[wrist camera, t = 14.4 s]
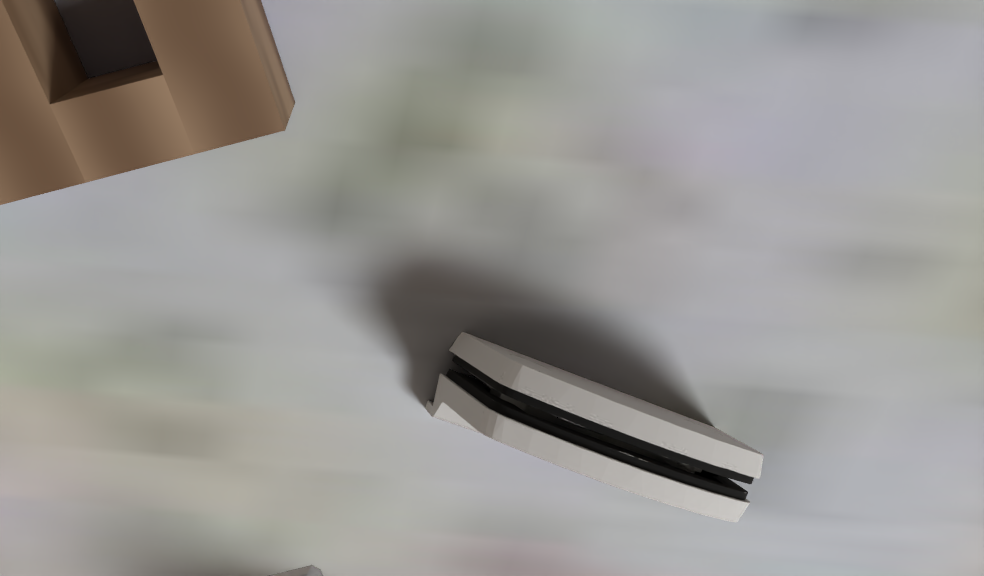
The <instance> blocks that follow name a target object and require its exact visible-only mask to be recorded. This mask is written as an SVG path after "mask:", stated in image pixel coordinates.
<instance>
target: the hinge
mask: <svg viewBox="0 0 984 576" xmlns="http://www.w3.org/2000/svg"><path fill="white" fill-rule="evenodd" d="M449 350H450V351H451V352H453V353H454V354H455V356H454V358H453V361H454V362H455V363H457V364H458V365H460V366H461V367H463V368H464V369H465V370H467V371H468V372H470V373H471V374H473V375H474V376H476V377H477V378H479V379H480V380H482V381H483V382H484V383H486V385H485V384H484V383H482V382H481V381H479V380H478V379H476V378H473V377H470V376H468V375H465V374H462V373H459V372H457V371H454V370H451V369H449V371H448V373H447V375H443V374H440V375H439V380H438V384H437V389H436V394H435V399H434V402H431V401H427V404H426V408H425V409H426V410H427V411H428V412H429V414H430V415H431V416H432V417H435V418H438V419H441V420H444V421H447V422H450V423H452V424H455V425H458V426H461V427H464V428H467V429H470V430H473V431H476V432H479V433H482V434H484V435H485V436H487V437H489V438H492V439H494V440H496V441H498V442H501V443H503V444H506V445H508V446H510V447H513V448H515V449H518V450H520V451H523V452H525V453H528V454H530V455H533V456H535V457H538V458H540V459H543V460H545V461H548V462H550V463H553V464H555V465H558V466H560V467H563V468H566V469H568V470H571V471H574V472H576V473H579V474H582V475H584V476H587V477H590V478H592V479H595V480H598V481H600V482H603V483H606V484H609V485H612V486H614V487H617V488H620V489H623V490H626V491H629V492H632V493H635V494H638V495H641V496H644V497H647V498H650V499H653V500H656V501H659V502H662V503H665V504H668V505H672V506H675V507H678V508H682V509H685V510H688V511H692V512H695V513H699V514H702V515H706V516H710V517H714V518H718V519H722V520H726V521H731V522H738V520H739V519H740V517H741V516H742V514H743V513H744V511H745V509H746V508H747V506H748V505H749V503H750V502H749V501H748V500H747V499H746V496H747V494H748V492H747V491H746V490H745V489H743V488H742V487H740V486H739V485H737V484H736V483H734V482H733V481H731V480H730V479H734V480H737V481H740V482H744V483H748V484H752V481H753V479H754V478H758V479H759V478H760V474H761V468H762V462H763V456H764V455H763V454H762V453H760V452H758V451H756V450H754V449H753V448H751V447H749V446H747V445H745V444H744V443H742V442H740V441H738V440H736V439H735V438H733V437H731V436H729V435H727V434H726V433H724V432H722V431H720V430H719V429H717V428H715V427H712V426H710V425H707V424H705V423H702V422H699V421H697V420H694V419H691V418H689V417H686V416H683V415H681V414H678V413H676V412H673V411H670V410H668V409H665V408H662V407H660V406H657V405H654V404H652V403H649V402H647V401H644V400H641V399H639V398H636V397H633V396H631V395H628V394H626V393H623V392H620V391H618V390H615V389H612V388H610V387H607V386H604V385H602V384H599V383H597V382H594V381H591V380H589V379H586V378H583V377H581V376H578V375H575V374H573V373H570V372H568V371H565V370H562V369H560V368H557V367H554V366H552V365H549V364H547V363H544V362H541V361H539V360H536V359H533V358H531V357H528V356H525V355H523V354H520V353H518V352H515V351H512V350H510V349H507V348H504V347H502V346H499V345H496V344H494V343H491V342H489V341H486V340H483V339H481V338H478V337H475V336H473V335H470V334H468V333H465V332H462V333H461V334H460V335H459V336H458V337H457V339H456V340H455V342H454V343H453V345H452V346H451V348H450V349H449ZM553 415H554V416H557V417H560V418H562V419H565V420H567V421H570V422H572V423H575V424H577V425H575V424H572V423H569V422H566V421H564V420H561V419H559V418H556V417H554V416H553ZM578 425H580V426H582V427H580V426H578ZM583 427H585V428H583ZM586 428H587V429H586ZM589 429H590V430H589ZM592 430H593V431H592ZM728 478H730V479H728Z"/></svg>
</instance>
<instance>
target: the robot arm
mask: <svg viewBox="0 0 984 576" xmlns="http://www.w3.org/2000/svg"><path fill="white" fill-rule="evenodd" d="M269 576H323V574H322V572H321V570H320V569H319V568H317V567H315V566H313V565H310V566H306V567H302V568H298V569H294V570H290V571H286V572H282V573H278V574H274V575H269Z"/></svg>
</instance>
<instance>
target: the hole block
mask: <svg viewBox="0 0 984 576" xmlns="http://www.w3.org/2000/svg"><path fill="white" fill-rule="evenodd" d="M133 1H134V3H135V6H136V8H137V11H138V13H139V16H140V18H141V21H142V23H143V26H144V28H145V31H146V33H147V36H148V38H149V41H150V43H151V46H152V48H153V51H154V53H155V56H156V58H157V61H154V62H150V63H146V64H142V65H138V66H134V67H130V68H127V69H123V70H119V71H115V72H111V73H107V74H104V75H100V76H96V77H92V78H88V77H87V75H86V73H85V70H84V68H83V66H82V64H81V61H80V59H79V57H78V54H77V52H76V50H75V48H74V45H73V43H72V41H71V38H70V36H69V34H68V32H67V29H66V27H65V25H64V22H63V20H62V18H61V16H60V13H59V11H58V9H57V6H56V4H55V2H54V0H0V205H2V204H6V203H9V202H13V201H17V200H21V199H25V198H28V197H32V196H36V195H40V194H44V193H48V192H51V191H55V190H59V189H63V188H67V187H70V186H74V185H78V184H82V183H86V182H90V181H93V180H97V179H101V178H105V177H109V176H112V175H116V174H120V173H124V172H128V171H131V170H135V169H139V168H143V167H147V166H151V165H154V164H158V163H162V162H166V161H170V160H173V159H177V158H181V157H185V156H189V155H193V154H196V153H200V152H204V151H208V150H212V149H215V148H219V147H223V146H227V145H231V144H234V143H238V142H242V141H246V140H250V139H254V138H257V137H261V136H265V135H269V134H273V133H276V132H280V131H284V130H285V129H286V126H287V123H288V121H289V118H290V115H291V112H292V110H293V107H294V104H295V101H294V98H293V95H292V92H291V89H290V86H289V83H288V80H287V77H286V74H285V71H284V68H283V65H282V62H281V59H280V56H279V53H278V50H277V47H276V44H275V41H274V38H273V35H272V32H271V29H270V26H269V23H268V20H267V17H266V14H265V11H264V8H263V5H262V2H261V0H133Z"/></svg>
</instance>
